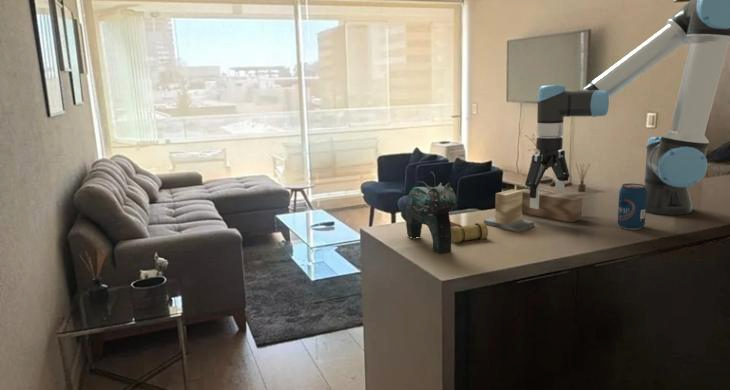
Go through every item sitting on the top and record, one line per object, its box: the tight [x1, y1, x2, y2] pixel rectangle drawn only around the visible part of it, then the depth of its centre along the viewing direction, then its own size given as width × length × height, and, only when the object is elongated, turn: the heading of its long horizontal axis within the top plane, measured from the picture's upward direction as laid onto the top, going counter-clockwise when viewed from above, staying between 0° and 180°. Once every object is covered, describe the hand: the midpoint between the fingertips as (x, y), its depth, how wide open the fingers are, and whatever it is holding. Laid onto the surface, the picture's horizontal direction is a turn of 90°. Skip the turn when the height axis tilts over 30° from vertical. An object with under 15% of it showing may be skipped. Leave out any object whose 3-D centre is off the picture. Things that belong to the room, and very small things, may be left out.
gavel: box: [450, 221, 489, 244], centre depth 146 cm, size 21×5×10 cm
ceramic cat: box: [405, 171, 457, 254], centre depth 134 cm, size 20×6×20 cm, turn 23°
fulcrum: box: [483, 188, 535, 232], centre depth 150 cm, size 12×8×10 cm, turn 38°
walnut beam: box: [520, 188, 583, 223], centre depth 160 cm, size 20×5×7 cm, turn 39°
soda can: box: [616, 183, 647, 231], centre depth 143 cm, size 7×7×12 cm
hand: (547, 204), depth 160 cm, fingers open, 13 cm apart
